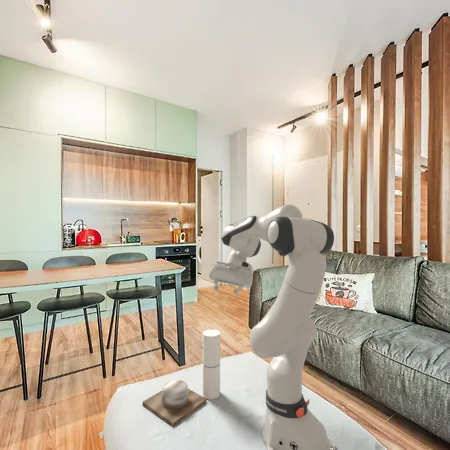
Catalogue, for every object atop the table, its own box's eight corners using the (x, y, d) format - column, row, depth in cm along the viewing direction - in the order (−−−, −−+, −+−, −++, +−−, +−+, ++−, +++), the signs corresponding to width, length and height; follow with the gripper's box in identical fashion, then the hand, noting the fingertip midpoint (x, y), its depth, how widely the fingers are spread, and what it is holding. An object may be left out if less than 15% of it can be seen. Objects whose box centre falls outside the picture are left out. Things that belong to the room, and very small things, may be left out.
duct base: (206, 401, 106) (206, 385, 106) (172, 426, 93) (172, 408, 93) (176, 384, 117) (176, 370, 117) (142, 404, 104) (142, 388, 104)
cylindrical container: (212, 401, 106) (212, 337, 106) (199, 394, 110) (199, 333, 111) (223, 392, 112) (223, 332, 112) (210, 386, 116) (210, 328, 116)
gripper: (213, 257, 128) (202, 284, 120) (254, 265, 120) (245, 294, 112) (216, 264, 132) (206, 290, 125) (256, 272, 124) (248, 300, 117)
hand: (225, 292), depth 119 cm, fingers open, 8 cm apart
